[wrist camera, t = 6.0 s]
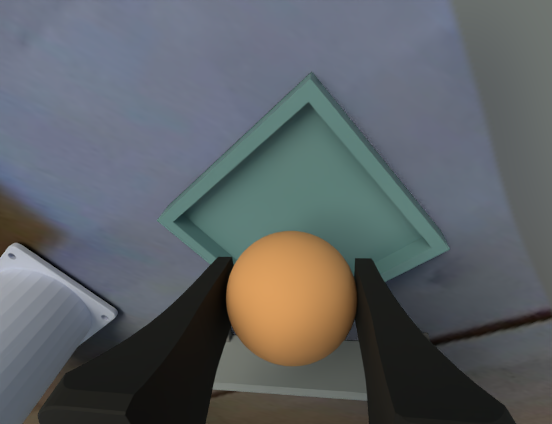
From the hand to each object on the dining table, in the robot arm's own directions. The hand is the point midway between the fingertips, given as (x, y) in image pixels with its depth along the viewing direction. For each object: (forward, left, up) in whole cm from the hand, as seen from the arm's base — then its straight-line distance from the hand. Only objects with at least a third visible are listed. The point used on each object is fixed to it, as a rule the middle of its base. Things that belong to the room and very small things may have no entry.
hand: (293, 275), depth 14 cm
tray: (0, 0, -4) cm, 4 cm away
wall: (-6, -8, -4) cm, 11 cm away
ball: (0, 0, +1) cm, 1 cm away
